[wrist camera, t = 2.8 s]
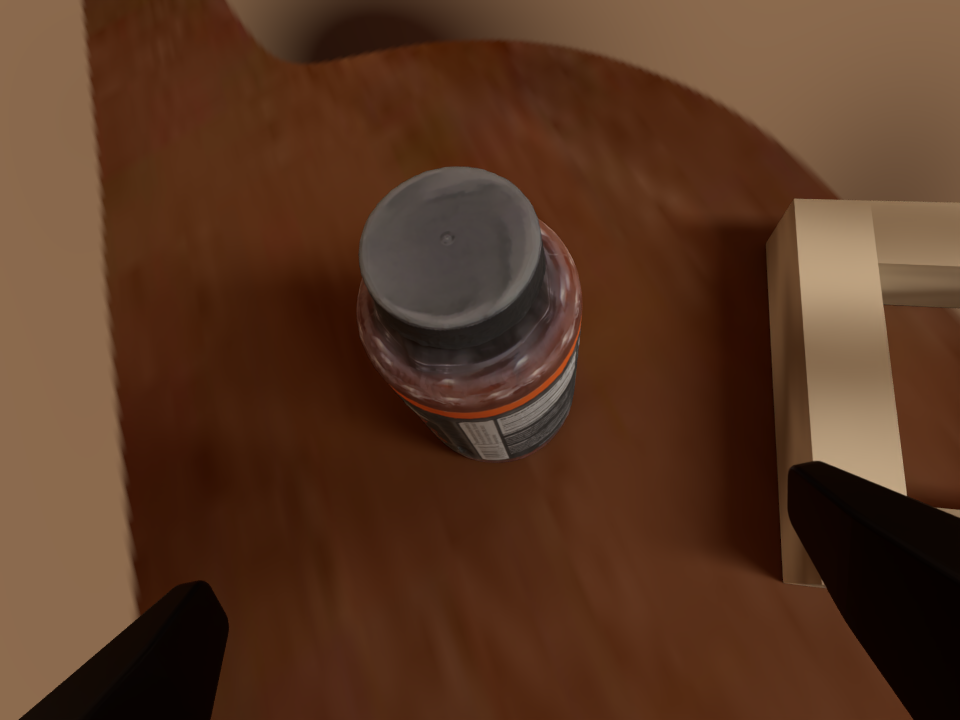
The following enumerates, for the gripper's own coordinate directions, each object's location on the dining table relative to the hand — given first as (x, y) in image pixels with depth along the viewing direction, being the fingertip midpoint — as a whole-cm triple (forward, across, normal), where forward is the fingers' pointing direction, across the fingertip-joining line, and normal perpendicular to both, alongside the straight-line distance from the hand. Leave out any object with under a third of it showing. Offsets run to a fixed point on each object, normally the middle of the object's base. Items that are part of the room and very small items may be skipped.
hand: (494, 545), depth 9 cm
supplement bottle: (+13, 0, +4) cm, 14 cm away
